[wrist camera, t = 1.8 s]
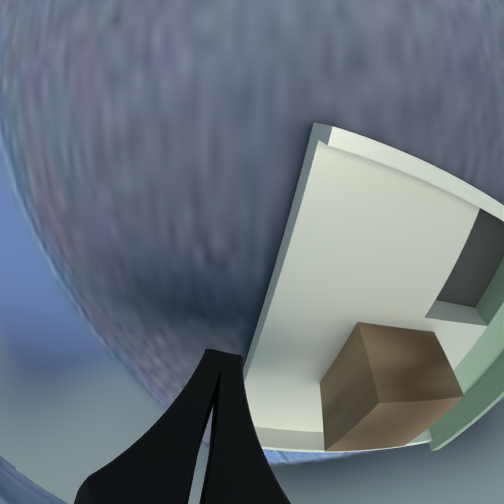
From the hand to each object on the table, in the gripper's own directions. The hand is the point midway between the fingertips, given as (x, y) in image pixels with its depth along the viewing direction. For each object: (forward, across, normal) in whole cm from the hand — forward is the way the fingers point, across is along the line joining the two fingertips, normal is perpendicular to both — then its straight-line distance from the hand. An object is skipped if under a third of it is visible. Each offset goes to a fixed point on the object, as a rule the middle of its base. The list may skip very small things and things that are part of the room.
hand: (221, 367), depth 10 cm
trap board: (+4, -10, 0) cm, 11 cm away
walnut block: (+2, -7, 0) cm, 7 cm away
